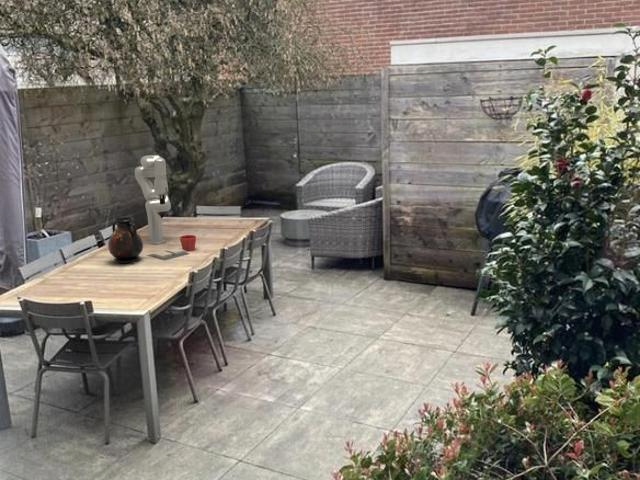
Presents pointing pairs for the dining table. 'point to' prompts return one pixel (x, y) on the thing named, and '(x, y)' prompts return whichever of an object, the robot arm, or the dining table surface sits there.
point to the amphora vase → (125, 241)
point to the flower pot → (188, 242)
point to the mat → (168, 257)
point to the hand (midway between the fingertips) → (162, 204)
